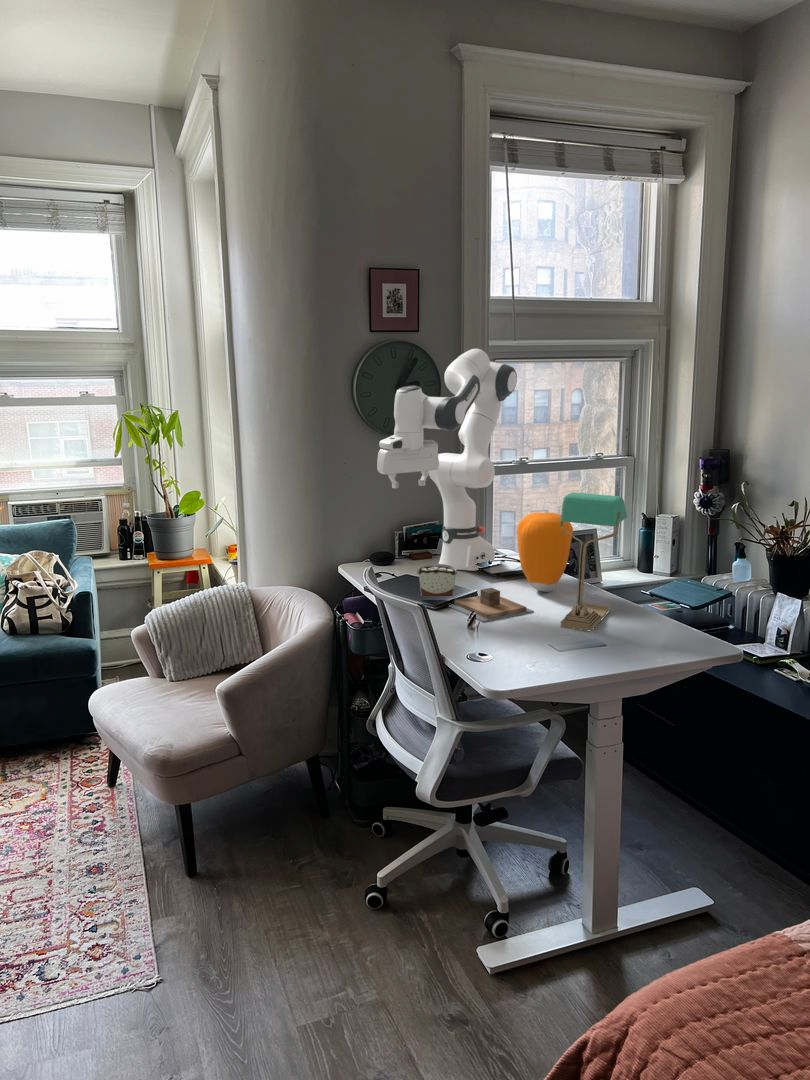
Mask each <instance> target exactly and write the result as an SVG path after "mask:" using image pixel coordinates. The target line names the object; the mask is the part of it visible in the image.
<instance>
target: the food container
mask: <svg viewBox="0 0 810 1080" xmlns="http://www.w3.org/2000/svg"><path fill="white" fill-rule="evenodd" d="M416 575H418V580H419V588H420V589H419V590H420V597H421V596H453V597H454V592H455V586H456V585H455V584H456V577H458V576H459V575H458V570H456V568H455V567H453V566H450V565H445V564H439V563H432V564H424V565H420V566H418V569H417V571H416ZM456 575H457V576H456Z"/></svg>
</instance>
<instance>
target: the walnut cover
mask: <svg viewBox="0 0 810 1080" xmlns="http://www.w3.org/2000/svg"><path fill="white" fill-rule="evenodd" d="M454 603H455V605H458V606H460V607H462V608H464V609H466V610H469V611H471V612H472V611H476V614H477V615H480V616H482V617H484V618H486V619H489V618H494V617H499V616H504V615H509V614H514V613H519V612H524V611H526V608H527V606H525V605H523V604H520V603H518V602H516V601H513V600H511V599H508V598H505V597H503V596H501V590H499V589H496V588H494V587H489V588H483V589H480V595H476V596H470V597H466V598H460V599H458V598H457V599H455V600H454Z"/></svg>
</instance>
